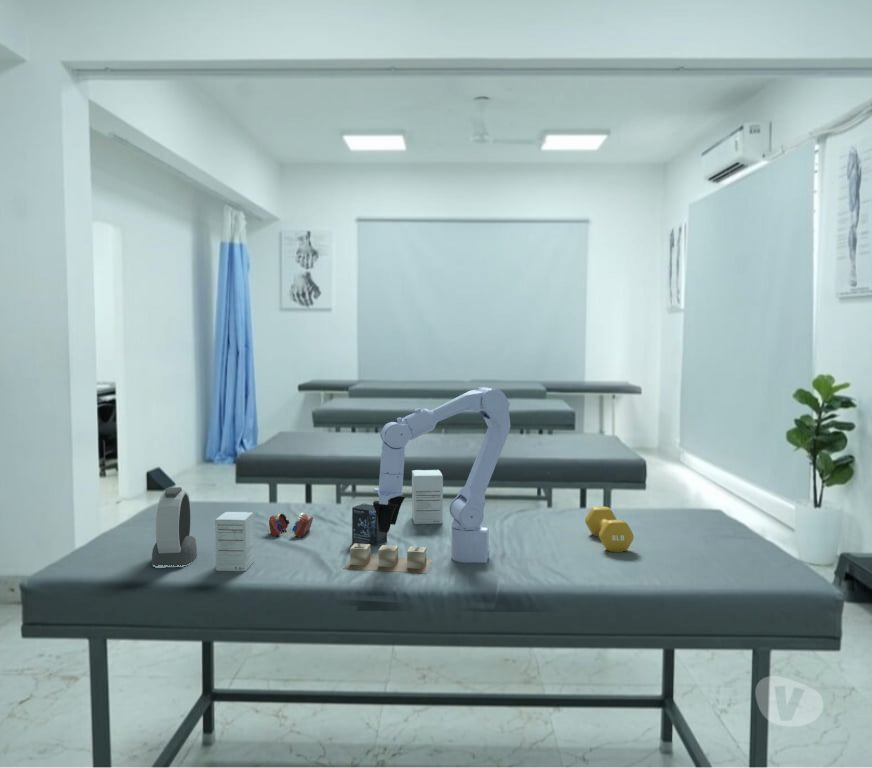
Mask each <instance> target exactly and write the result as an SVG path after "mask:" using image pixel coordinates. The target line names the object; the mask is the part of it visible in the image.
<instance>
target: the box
mask: <svg viewBox="0 0 872 768" xmlns="http://www.w3.org/2000/svg"><path fill="white" fill-rule="evenodd" d="M351 510H352V512H351V513H352V514H351V517H352V518H351V530H352V531H351V538H352V539H351V542H352V543H353V544H370V547H374V548H375V547H378V546H380V545H381V546H382V545H384V544H385V543H387V542H388V532H380V531H379V525H378V518H377V514H376V511H375V508H374V506H373V504H368V503H362V504H359V505H355V506H353V507H352V508H351Z"/></svg>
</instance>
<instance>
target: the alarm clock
mask: <svg viewBox="0 0 872 768" xmlns="http://www.w3.org/2000/svg"><path fill="white" fill-rule="evenodd" d="M191 507H192V506H191V501H190V494H189V493H188V492H187V491H186V490H183V489H182V487H181V486H180V487H179V486H177V487H176V486H175V487H174V486H173V487H172V486H171V487H167V488H166V489H165V491H163V492H162V493H161V495H160V497H159V500H158V505H157V510H156V522H155V539H156V543H155V544H154V546H153V548H152V553H151V565H152V564H153V565H155V566H158V565H163V566H164V565H168V566H169V565H170V566H171V565H172V566H173V565H174V566H177V565H179V566H180V565H181V566H182V565H187V564H189V563H191V562H193V561H194V560H195V559H196V560H197V558H196V557H198V549H197V541H196V540H197V539H196V538H195V536H193V535H191V529H192V528H191V525H192V509H191ZM196 560H195V561H196ZM195 561H194V562H195ZM194 562H193V563H194Z"/></svg>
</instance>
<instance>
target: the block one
mask: <svg viewBox="0 0 872 768" xmlns="http://www.w3.org/2000/svg"><path fill="white" fill-rule="evenodd" d="M406 553H407V554H406V558H407V568H419V569H424V567H425V565H426V559H427V546H426V547H425V546H409V548H408V549H407V550H406Z"/></svg>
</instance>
